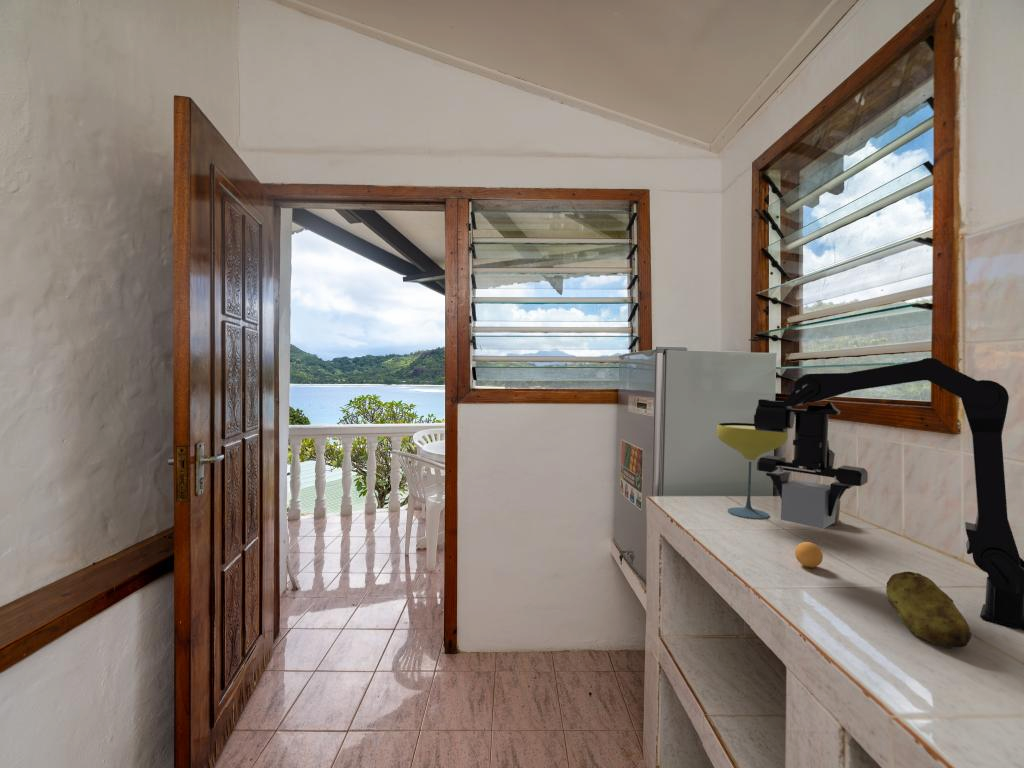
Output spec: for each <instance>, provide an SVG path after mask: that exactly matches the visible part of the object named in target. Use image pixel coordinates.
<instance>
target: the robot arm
mask: <svg viewBox="0 0 1024 768" xmlns="http://www.w3.org/2000/svg"><path fill="white" fill-rule="evenodd" d="M921 381H928V382H930V383H933V384H934V385H936V386H938V387H940V388H941V389H943V390H945V391H947V392H949V393H951V394H952V395H954V396H957V397H958V398H960V400H961V403H962V406H963V410H964V413H965V415H966V419H967V422H968V425H969V429H970V432H971V438H972V452H973V464H974V465H973V466H974V467H973V468H974V477H975V478H974V479H975V481H974V482H975V492H976V493H975V494H976V507H977V514H976V519H975V523H972V522H968V521H965V522H964V526H965V533H966V536H967V540H966V542H965V543H966V547H965V548H966V554H968V555H971V554H972V559H973V562H974V564H975V565H976V566H977V567H978V568H979V569H980V570H981V571H982V572H984V573H987V575H988V576H987V577H986V582H985V583H986V585H985V600H984V601H985V603H983V604H982V606H981V610H980V614H979V618H980V619H982V620H983V619H984V620H986V621H989V622H993V623H997V624H999V625H1000V624H1001V625H1005V626H1008V627H1012V628H1016V629H1019V630H1023V631H1024V559H1023V558H1022V557H1020V553H1019V550H1018V547H1017V543H1016V539H1015V538H1014V535H1013V531H1012V529H1011V525H1010V521H1009V519H1008V506H1007V491H1006V480H1005V479H1006V477H1005V463H1004V454H1003V453H1004V451H1003V438H1002V437H1003V431H1004V426H1005V422H1006V417H1007V411H1008V406H1009V401H1010V398H1009V397H1010V395H1009V393H1008V390H1007V388H1006V387H1004V386H1003V385H1001V383H999V382H997V381H993V380H989V379H988V380H987V379H986V380H985V379H980V380H976V379H975V378H973V377H971V376H969V375H966V374H965V373H962V372H961V371H959V370H956V369H954V368H952V367H950V366H949V365H947V364H945V363H943V362H942V361H941V360H939V359H938V358H935V357H926V358H922V359H920V360H916V361H915V360H914V361H911V362H904V363H899V364H891V365H887V366H880V367H875V368H874V367H873V368H867V369H863V370H856V371H852V372H851V371H850V372H835V373H834V372H830V373H829V372H827V373H826V372H825V373H824V372H823V373H805V374H802V375H801V376H799V377H798V378H797V379H796V381H795V383H794V390H793V391H792V392H791V393H790V394H789V395H788V396H787V397H786V398H785V400H770V399H764V398H762V399H761V398H760V399H758V400H757V401H758V402H757V403H758V404H757V405H756V406H757V407H756V409H755V414H753V424H754V426H755V429H756V430H759V431H770V432H781V433H786V432H787V431H788V429H791V430H792V429H793V427H794V439H793V440H792V446H793V447H794V449H793V450H794V451H793V459H792V460H791V461H787V460H786V457H784V456H777V455H776V456H775V455H769V454H768V455H765V456H761V457H760V456H759V457H758V458H757V459H758V460H757V461H756V470H757V471H759V472H765V475H766V477H770V479H771V481H772V483H773V484H774V486H775V488H776V489H777V491H778V492H777V493H778V494H779V496H780V497H779V498H780V499H781V500H780V501H782V484H784V483H787V482H789V479H790V474H791V472H794V473H802V474H808V475H815V476H821V477H827V478H833V479H834V480H835V481H834V482H831V483H830V485H831V486H830V496H829V506H828V514H829V516H830V517H831V516H832V515H833V513H834V511H835V509H836V507H837V504H838V502H839V500H840V501H841V497H842V496H843V495H844V493H845V492H846V490H849V489H851V488H853V487H861V486H863V485H865V484H867V483H868V480H869V479H868V477H869V473H868V471H867V470H866V468H864V467H859V466H851V465H842V466H840V467H837V468H835V467H834V461H835V457H836V453H835V452H834V451H833V450H832V449H830V444H829V440H828V439H829V438H828V435H829V416H830V415H831V416H833V415H834V416H836V415H840V414H841V410H840V409H838V408H837V407H836V406H835V405H834V402H831V401H829V402H827V403H826V404H824V405H819V404H808V405H807V408H806V409H805V408H804V409H803V408H793V407H798V406H803V405H805V404H807V403H817V402H822V401H826V400H829V399H831V398H835V397H838V396H842V395H844V394H848V393H851V392H854V391H860V390H868V389H873V388H874V389H875V388H880V387H881V388H882V387H888V386H893V385H902V384H909V383H914V382H921ZM794 424H795V425H794Z"/></svg>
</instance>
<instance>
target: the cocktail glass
mask: <svg viewBox="0 0 1024 768" xmlns="http://www.w3.org/2000/svg"><path fill="white" fill-rule="evenodd" d="M788 432H789V431H788V430H787V432H786V433H781V432H770V431H759V430H756V429H755V426H754V423H750V422H748V423H747V422H722V423H718V425H717V427H716V435H717V438H719V440H720V441H721V442H723V443H724V444H725V445H727V446H728V447H729V448H731V449H734V450H735V451H737V452H738V453H740V454H741V455H742V457H743V458H744V459H745V461H747V462H748V477H747V479H748V480H747V481H748V482H747V495H746V502H745V506H744V507H743V506H741V507H740V506H736V507H729V508H727V512H728V513H729V514H730V515H733V516H735V517H739V518H744V519H749V518H751V520H765V519H764V518H766V519H768V518H769V517H770V514H769V513H768V512H766V511H763V510H761V509H757V508H753V507H752V504H751V483H752V482H751V479H752V478H751V477H752V463H754V462H755V461H756V460H757V459H759V457H760V456H762V455H763V454H765V453H768V452H772V451H774V450H776V449H778V448H781V447H782V446H783V445H784V444H786V443H787V441H788V436H789V433H788Z"/></svg>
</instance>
